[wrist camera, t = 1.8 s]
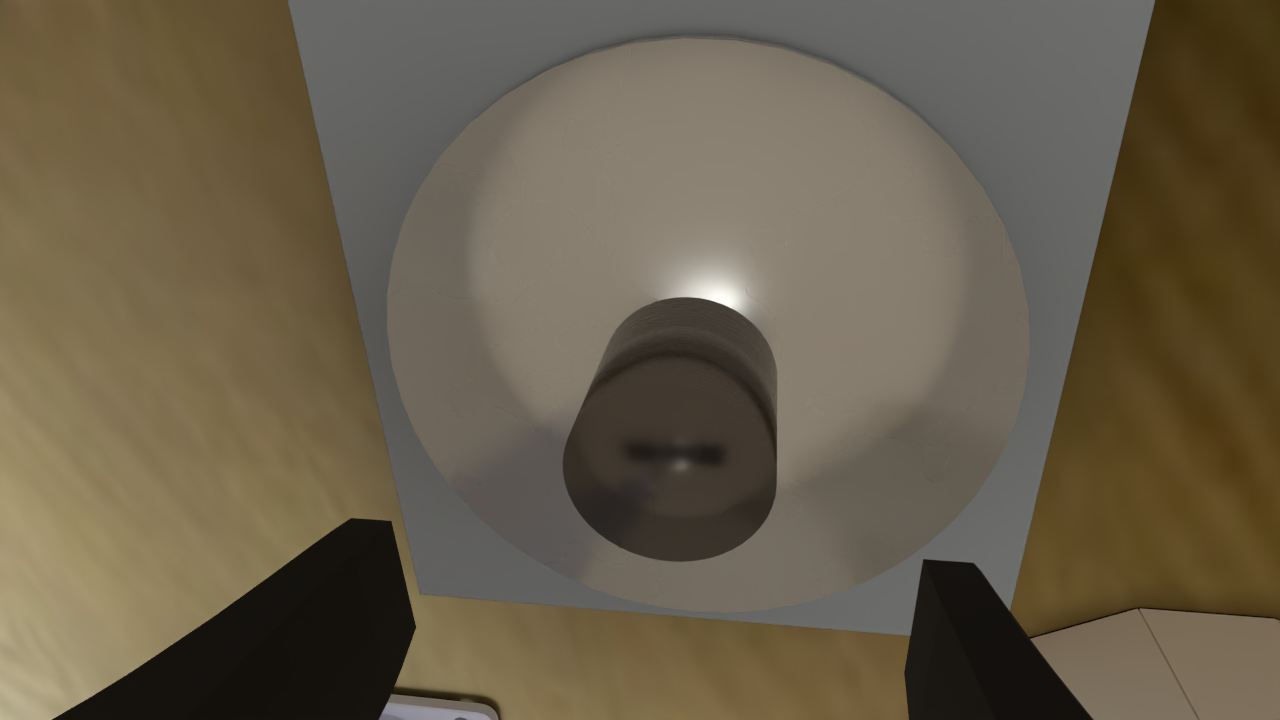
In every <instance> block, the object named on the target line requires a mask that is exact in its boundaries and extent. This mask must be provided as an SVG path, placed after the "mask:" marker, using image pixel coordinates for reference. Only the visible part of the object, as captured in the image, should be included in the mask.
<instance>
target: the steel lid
mask: <svg viewBox="0 0 1280 720" xmlns="http://www.w3.org/2000/svg"><path fill="white" fill-rule="evenodd" d="M387 334H388V341H389V348H390V355H391V362H392V368H393V371H394V375H395V379H396V382H397V386H398V389H399V393H400V396H401V400H402V402H403V405H404V407H405V409H406V412H407V414H408V416H409V419H410V421H411V424H412V426H413V428H414V431H415V433H416V434H417V436H418V438H419V440H420V441H421V443H422V445H423V447H424V448H425V450H426V452H427V454H428V455H429V457H430V459H431V461H432V462H433V464H434V465H435V466H436V468H437V469H438V470H439V472H440V473H441V474H442V476H443V477H444V478H445V480H446V481H447V483H448V484H449V485H450V487H451V488H452V489H453V490H454V491H455V493H456V494H457V495H458V496H459V497H460V498H461V499H462V500H463V501H464V502H465V503H466V504H467V506H468V507H469V508H470V509H471V510H472V511H473V512H474V513H475V514H476V515H477V516H478V517H479V518H480V519H482V520H483V521H484V522H485V523H486V524H487V525H488V526H490V527H491V528H492V529H493V530H494V531H495V532H496V533H498V534H499V535H500V536H501V537H502V538H504V539H505V540H506V541H508V542H509V543H511V544H512V545H514V546H515V547H516V548H518V549H519V550H521V551H522V552H523V553H525V554H526V555H528V556H529V557H531V558H532V559H534V560H536V561H538V562H540V563H541V564H543V565H545V566H547V567H548V568H550V569H552V570H554V571H555V572H557V573H559V574H561V575H563V576H565V577H568V578H570V579H572V580H574V581H577V582H579V583H581V584H583V585H586V586H588V587H590V588H593V589H596V590H599V591H602V592H605V593H608V594H611V595H614V596H617V597H620V598H623V599H627V600H631V601H635V602H640V603H644V604H648V605H653V606H657V607H664V608H671V609H679V610H687V611H699V612H727V613H728V612H743V611H759V610H767V609H774V608H780V607H786V606H792V605H798V604H801V603H805V602H809V601H812V600H816V599H820V598H823V597H827V596H831V595H834V594H836V593H839V592H841V591H844V590H846V589H849V588H851V587H854V586H857V585H859V584H862V583H864V582H866V581H868V580H870V579H872V578H874V577H876V576H878V575H880V574H881V573H883V572H885V571H887V570H889V569H891V568H893V567H895V566H897V565H898V564H899V563H901V562H902V561H904V560H905V559H907V558H908V557H910V556H911V555H913V554H914V553H915V552H917V551H918V550H920V549H921V548H923V547H924V546H926V545H927V544H928V543H929V542H930V541H931V540H933V539H934V538H935V537H936V536H937V535H938V534H939V533H940V532H942V531H943V530H944V529H945V528H946V527H947V526H948V525H949V524H951V523H952V522H953V521H954V520H955V519H956V517H957V516H958V515H959V514H960V513H961V512H962V510H963V509H964V508H965V507H966V506H967V505H968V504H969V502H970V501H971V500H972V499H973V498H974V497H975V495H976V494H977V493H978V492H979V490H980V489H981V487H982V485H983V484H984V482H985V481H986V479H987V478H988V476H989V475H990V473H991V472H992V470H993V469H994V467H995V465H996V464H997V462H998V461H999V458H1000V456H1001V454H1002V452H1003V450H1004V448H1005V445H1006V443H1007V441H1008V439H1009V437H1010V434H1011V432H1012V430H1013V428H1014V425H1015V421H1016V418H1017V415H1018V411H1019V408H1020V404H1021V401H1022V397H1023V394H1024V390H1025V383H1026V375H1027V367H1028V359H1029V352H1030V348H1029V315H1028V306H1027V301H1026V295H1025V290H1024V285H1023V280H1022V275H1021V269H1020V266H1019V264H1018V261H1017V258H1016V255H1015V253H1014V250H1013V247H1012V244H1011V242H1010V239H1009V236H1008V233H1007V231H1006V228H1005V226H1004V224H1003V222H1002V221H1001V219H1000V217H999V215H998V213H997V212H996V210H995V208H994V206H993V204H992V203H991V201H990V199H989V197H988V195H987V194H986V192H985V190H984V188H983V187H982V186H981V184H980V183H979V182H978V180H977V179H976V178H975V177H974V175H973V174H972V173H971V172H970V170H969V169H968V168H967V166H966V165H965V164H964V163H963V161H962V160H961V159H960V157H959V156H958V155H957V154H956V152H955V151H954V150H953V149H952V147H951V146H950V145H949V144H948V142H947V141H946V140H945V139H944V138H943V137H942V136H941V135H940V134H938V133H937V132H936V131H935V130H934V129H933V128H932V127H931V126H930V125H929V124H928V123H927V122H926V121H925V120H924V119H923V118H922V117H921V116H919V115H918V114H917V113H916V112H915V111H914V110H913V109H912V108H911V107H909V106H908V105H906V104H905V103H903V102H902V101H901V100H899V99H898V98H896V97H895V96H893V95H892V94H891V93H889V92H888V91H886V90H885V89H883V88H882V87H881V86H879V85H878V84H876V83H875V82H873V81H871V80H869V79H867V78H865V77H863V76H861V75H860V74H858V73H856V72H854V71H852V70H850V69H848V68H846V67H844V66H842V65H840V64H838V63H836V62H834V61H832V60H829V59H826V58H823V57H820V56H817V55H814V54H811V53H808V52H805V51H802V50H799V49H796V48H793V47H790V46H787V45H784V44H779V43H774V42H768V41H763V40H757V39H752V38H746V37H741V36H733V35H708V34H680V35H670V36H660V37H650V38H640V39H636V40H632V41H628V42H624V43H620V44H616V45H612V46H608V47H604V48H600V49H596V50H593V51H591V52H589V53H586V54H584V55H581V56H579V57H576V58H574V59H571V60H569V61H567V62H564V63H562V64H559V65H557V66H554V67H552V68H551V69H549V70H547V71H545V72H543V73H542V74H540V75H538V76H537V77H535V78H533V79H532V80H530V81H528V82H526V83H525V84H523V85H521V86H520V87H518V88H516V89H515V90H513V91H511V92H510V93H508V94H506V95H504V96H503V97H502V98H500V99H499V100H498V101H497V102H496V103H494V104H493V105H492V106H491V107H489V108H488V109H487V110H486V111H484V112H483V113H482V114H481V115H480V116H478V117H477V118H476V119H475V120H473V121H472V122H471V123H470V124H469V125H468V126H467V127H466V128H465V129H464V130H463V131H462V132H461V134H460V135H459V136H458V137H457V138H456V139H455V140H454V141H453V142H452V143H451V145H450V146H449V147H448V148H447V149H446V150H445V151H444V152H443V153H442V154H441V156H440V157H439V159H438V160H437V162H436V163H435V165H434V166H433V168H432V169H431V171H430V172H429V174H428V175H427V177H426V178H425V180H424V181H423V183H422V184H421V186H420V187H419V189H418V191H417V194H416V196H415V198H414V200H413V202H412V204H411V206H410V209H409V211H408V213H407V215H406V217H405V219H404V222H403V224H402V227H401V231H400V234H399V238H398V241H397V244H396V248H395V251H394V255H393V258H392V263H391V271H390V278H389V285H388V292H387Z"/></svg>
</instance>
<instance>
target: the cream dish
mask: <svg viewBox="0 0 1280 720" xmlns="http://www.w3.org/2000/svg"><path fill="white" fill-rule="evenodd" d="M1031 641H1032V642H1033V643H1034V645H1035V646H1036V648H1037V649H1038V650H1039V652H1040V653H1041V654H1042V655H1043V657H1044V658H1045V659H1046V661H1047V662H1048V663H1049V665H1050V666H1051V667H1052V668H1053V670H1054V671H1055V672H1056V674H1057V675H1058V676H1059V677H1060V679H1061V680H1062V681H1063V682H1064V683H1065V685H1066V686H1067V687H1068V688H1069V690H1070V691H1071V692H1072V693H1073V695H1074V696H1075V697H1076V698H1077V700H1078V701H1079V702H1080V703H1081V705H1082V706H1083V707H1084V708H1085V710H1086V711H1087V712H1088V713H1089V715H1090V716H1091V717H1092V718H1093V720H1280V621H1279V620H1275V619H1272V618H1259V617H1246V616H1233V615H1220V614H1207V613H1193V612H1180V611H1167V610H1154V609H1141V608H1140V609H1139V611H1138V609H1134V610H1131V611H1127V612H1124V613H1120V614H1117V615H1113V616H1109V617H1106V618H1102V619H1099V620H1095V621H1092V622H1088V623H1085V624H1081V625H1077V626H1074V627H1070V628H1067V629H1063V630H1060V631H1056V632H1053V633H1049V634H1045V635H1042V636H1038V637H1035V638H1031Z"/></svg>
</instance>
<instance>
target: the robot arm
mask: <svg viewBox="0 0 1280 720" xmlns="http://www.w3.org/2000/svg"><path fill="white" fill-rule="evenodd" d="M415 629H416V625H415V621H414V617H413V612H412V608H411V604H410V600H409V595H408V591H407V587H406V582H405V578H404V574H403V570H402V565H401V561H400V557H399V552H398V548H397V544H396V540H395V535H394V531H393V527H392V522H391V521H383V520H369V519H355V518H351V519H349V520H348V521H346V522H345V523H343V524H342V525H340V526H339V527H337V528H336V529H334V530H333V531H331V532H330V533H329V534H327V535H326V536H324V537H323V538H322V539H320V540H319V541H317V542H316V543H315V544H313V545H312V546H311V547H309V548H308V549H306V550H305V551H304V552H302V553H301V554H300V555H298V556H297V557H296V558H294V559H293V560H291V561H290V562H289V563H287V564H286V565H285V566H283V567H282V568H281V569H279V570H278V571H277V572H275V573H274V574H272V575H271V576H270V577H268V578H267V579H266V580H264V581H263V582H261V583H260V584H259V585H257V586H256V587H254V588H253V589H252V590H250V591H249V592H248V593H246V594H245V595H243V596H242V597H241V598H239V599H238V600H236V601H235V602H234V603H232V604H231V605H230V606H228V607H227V608H225V609H224V610H223V611H221V612H220V613H218V614H217V615H216V616H214V617H213V618H211V619H210V620H208V621H207V622H205V623H204V624H202V625H201V626H200V627H198V628H197V629H195V630H194V631H192V632H191V633H189V634H188V635H186V636H185V637H183V638H182V639H180V640H179V641H177V642H176V643H174V644H173V645H171V646H170V647H168V648H167V649H165V650H164V651H162V652H161V653H159V654H158V655H156V656H155V657H153V658H152V659H150V660H149V661H147V662H146V663H144V664H143V665H141V666H140V667H138V668H137V669H135V670H134V671H132V672H131V673H129V674H128V675H126V676H124V677H123V678H121V679H120V680H118V681H116V682H115V683H113V684H112V685H110V686H108V687H107V688H105V689H103V690H102V691H100V692H98V693H97V694H95V695H94V696H92V697H90V698H89V699H87V700H85V701H83V702H82V703H80V704H78V705H77V706H75V707H73V708H71V709H70V710H68V711H66V712H64V713H63V714H61V715H59V716H58V717H56V718H54V719H52V720H498V716H497V714H496V712H495V711H494V710H493V709H492V708H491V707H489V706H488V705H485V704H481V703H472V702H462V701H453V700H443V699H434V698H424V697H415V696H405V695H396V694H392V691H393V689H394V686H395V684H396V681H397V678H398V676H399V673H400V671H401V668H402V666H403V663H404V660H405V657H406V654H407V651H408V649H409V646H410V643H411V640H412V637H413V634H414V632H415ZM904 673H905V683H906V693H907V703H908V713H909V720H1093V718H1092V717H1091V716H1090V715H1089V713H1088V712H1087V711H1086V710H1085V708H1084V707H1083V706H1082V705H1081V703H1080V702H1079V701H1078V700H1077V698H1076V697H1075V696H1074V695H1073V693H1072V692H1071V691H1070V690H1069V688H1068V687H1067V686H1066V685H1065V683H1064V682H1063V681H1062V680H1061V679H1060V677H1059V676H1058V675H1057V674H1056V672H1055V671H1054V670H1053V668H1052V667H1051V666H1050V665H1049V663H1048V662H1047V661H1046V659H1045V658H1044V657H1043V655H1042V654H1041V653H1040V652H1039V650H1038V649H1037V648H1036V646H1035V645H1034V643H1033V642H1032V641H1031V639H1030V638H1029V637H1028V635H1027V634H1026V633H1025V631H1024V630H1023V629H1022V627H1021V626H1020V625H1019V623H1018V622H1017V621H1016V619H1015V618H1014V616H1013V615H1012V614H1011V612H1010V611H1009V610H1008V608H1007V607H1006V605H1005V604H1004V603H1003V601H1002V600H1001V598H1000V597H999V596H998V594H997V593H996V591H995V590H994V588H993V587H992V586H991V584H990V583H989V581H988V580H987V578H986V577H985V576H984V574H983V573H982V571H981V570H980V569H979V568H978V567H977V566H976V565H975V564H974V563H970V562H956V561H942V560H928V559H923V563H922V569H921V575H920V581H919V587H918V593H917V599H916V605H915V611H914V618H913V624H912V630H911V636H910V642H909V648H908V654H907V660H906V666H905V672H904Z"/></svg>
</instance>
